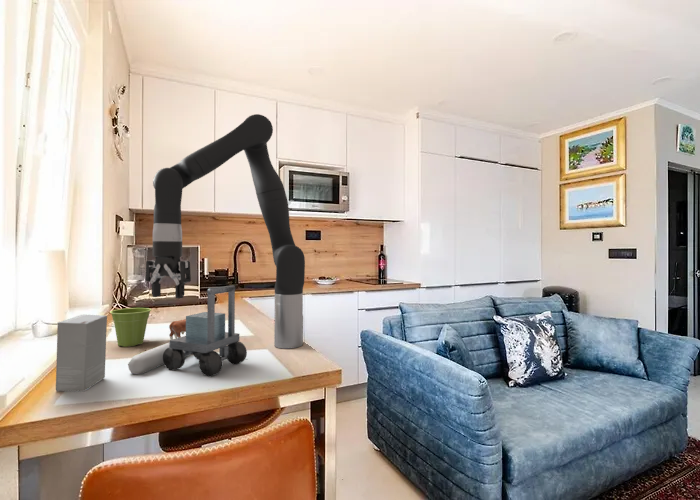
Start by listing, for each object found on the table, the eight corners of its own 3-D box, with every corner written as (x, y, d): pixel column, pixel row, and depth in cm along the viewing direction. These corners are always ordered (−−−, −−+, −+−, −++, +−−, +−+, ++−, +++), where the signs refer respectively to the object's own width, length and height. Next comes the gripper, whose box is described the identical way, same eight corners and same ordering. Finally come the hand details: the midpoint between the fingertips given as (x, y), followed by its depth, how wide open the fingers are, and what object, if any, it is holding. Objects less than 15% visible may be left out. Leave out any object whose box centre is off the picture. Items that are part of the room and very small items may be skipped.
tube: (144, 361, 90) (203, 336, 115) (126, 353, 91) (189, 330, 116) (138, 381, 91) (198, 352, 115) (120, 373, 92) (184, 346, 116)
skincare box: (78, 379, 88) (78, 314, 88) (109, 378, 89) (109, 313, 89) (52, 392, 80) (52, 321, 80) (87, 392, 80) (87, 320, 80)
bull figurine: (207, 336, 132) (207, 313, 132) (172, 344, 120) (172, 319, 120) (200, 334, 134) (200, 312, 134) (165, 342, 123) (165, 318, 123)
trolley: (197, 356, 107) (197, 282, 107) (248, 363, 101) (248, 285, 101) (160, 369, 95) (160, 286, 95) (216, 378, 89) (216, 290, 89)
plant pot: (156, 344, 120) (156, 310, 120) (115, 351, 112) (115, 314, 112) (144, 337, 128) (144, 306, 128) (105, 344, 120) (105, 310, 120)
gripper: (197, 240, 104) (197, 297, 104) (159, 240, 109) (159, 294, 109) (176, 239, 97) (176, 300, 97) (137, 240, 102) (137, 297, 102)
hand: (167, 297), depth 103 cm, fingers open, 8 cm apart
